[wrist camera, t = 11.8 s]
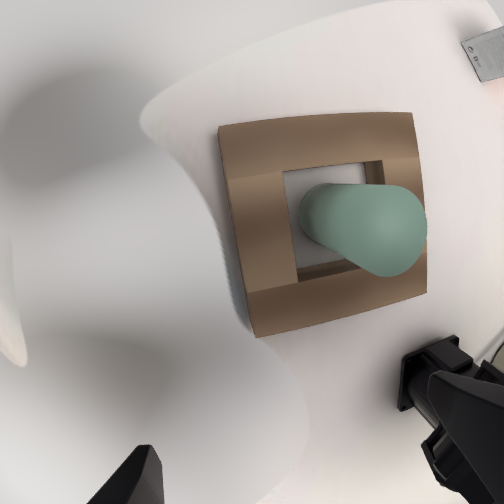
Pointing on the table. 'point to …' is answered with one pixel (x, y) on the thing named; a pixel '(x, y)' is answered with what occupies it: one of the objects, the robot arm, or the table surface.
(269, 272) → the walnut holder
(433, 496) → the table surface
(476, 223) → the table surface
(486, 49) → the skincare box
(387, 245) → the green peg
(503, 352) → the travel mug
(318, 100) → the table surface
